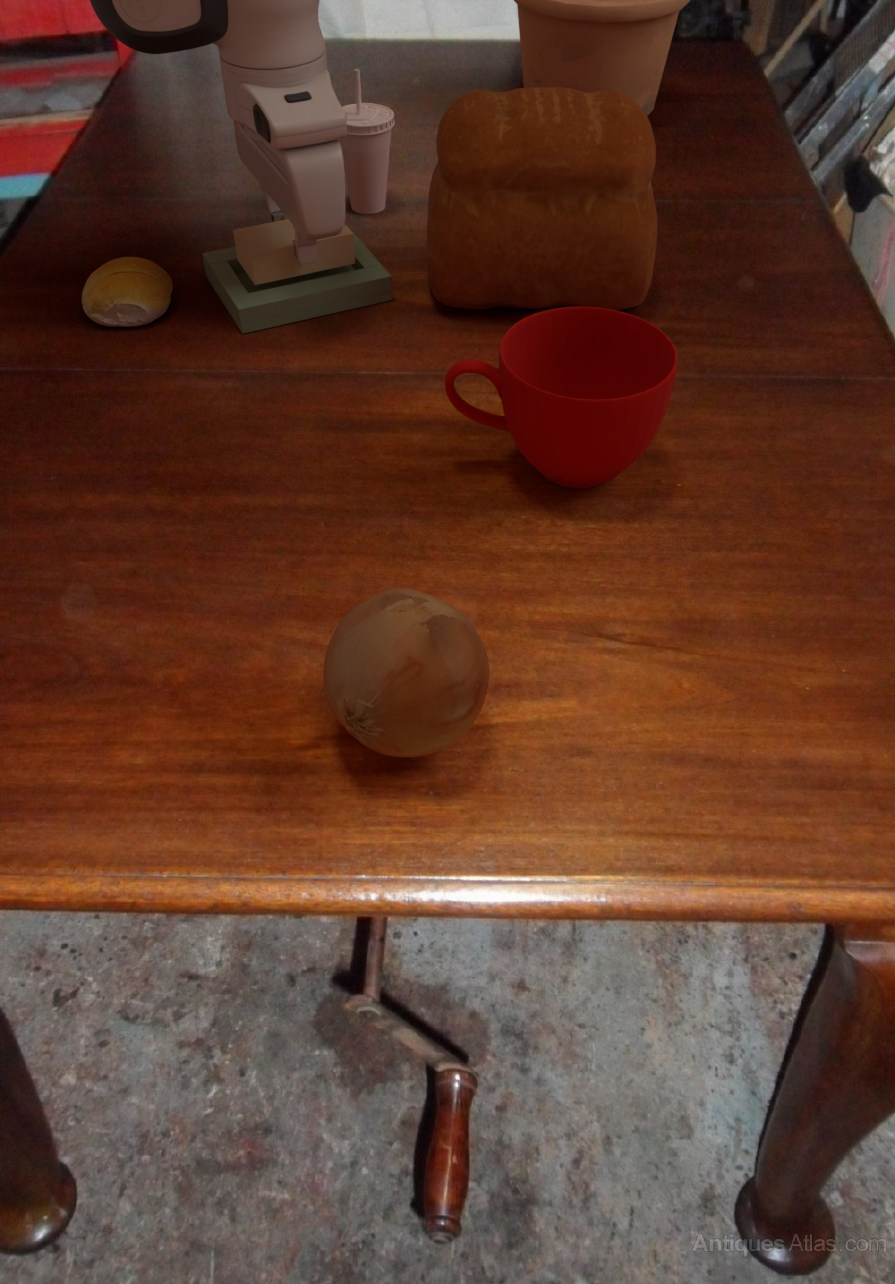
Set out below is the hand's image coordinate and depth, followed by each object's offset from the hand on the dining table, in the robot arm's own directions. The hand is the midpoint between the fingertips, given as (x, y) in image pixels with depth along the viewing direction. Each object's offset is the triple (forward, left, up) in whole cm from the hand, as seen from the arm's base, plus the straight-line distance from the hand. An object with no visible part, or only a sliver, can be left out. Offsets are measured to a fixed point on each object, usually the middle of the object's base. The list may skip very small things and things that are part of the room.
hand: (294, 244), depth 100 cm
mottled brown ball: (-12, -55, -5) cm, 57 cm away
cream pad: (0, 0, -2) cm, 2 cm away
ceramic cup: (+9, -35, -5) cm, 36 cm away
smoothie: (+13, +14, -5) cm, 20 cm away
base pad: (0, 0, -4) cm, 4 cm away
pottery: (+50, +30, -5) cm, 58 cm away
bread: (+22, -8, -5) cm, 24 cm away
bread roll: (-16, +3, -5) cm, 17 cm away
